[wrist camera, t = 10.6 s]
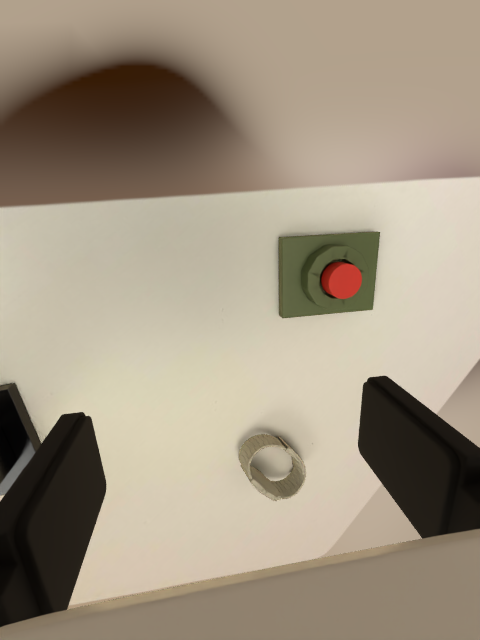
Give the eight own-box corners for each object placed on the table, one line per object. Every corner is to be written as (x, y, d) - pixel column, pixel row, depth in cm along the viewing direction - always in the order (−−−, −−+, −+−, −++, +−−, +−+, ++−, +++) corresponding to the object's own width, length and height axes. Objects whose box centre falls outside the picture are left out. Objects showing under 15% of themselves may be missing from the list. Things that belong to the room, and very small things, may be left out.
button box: (279, 315, 32) (287, 324, 29) (278, 237, 29) (287, 238, 27) (367, 306, 33) (383, 314, 30) (373, 231, 31) (391, 232, 28)
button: (320, 296, 29) (328, 300, 27) (321, 262, 28) (329, 265, 26) (351, 293, 29) (360, 297, 28) (353, 260, 28) (363, 262, 27)
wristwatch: (225, 451, 36) (230, 485, 31) (263, 416, 35) (274, 446, 31) (275, 487, 39) (286, 523, 34) (310, 456, 38) (327, 488, 34)
